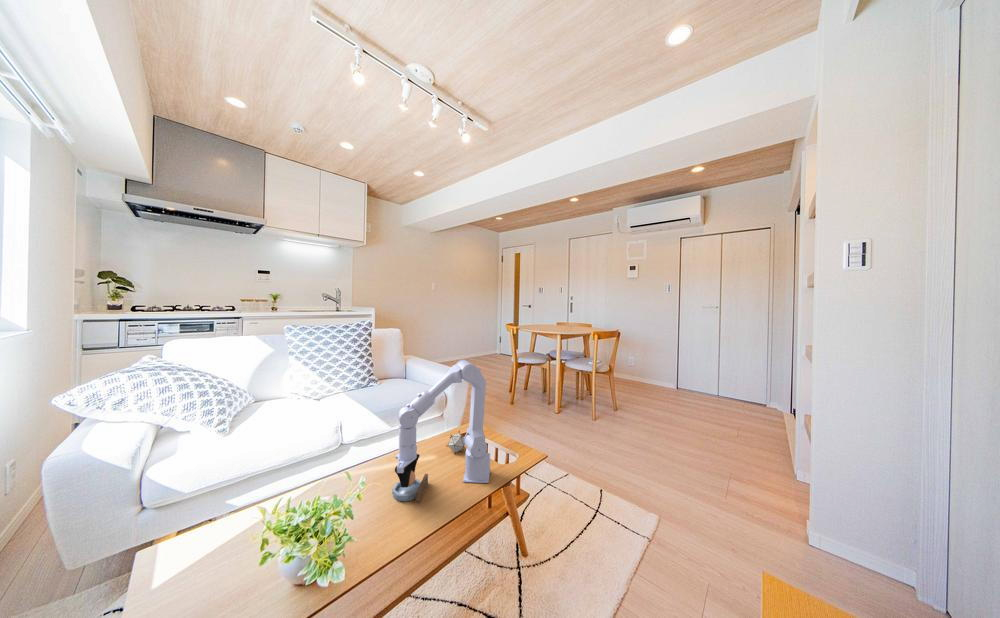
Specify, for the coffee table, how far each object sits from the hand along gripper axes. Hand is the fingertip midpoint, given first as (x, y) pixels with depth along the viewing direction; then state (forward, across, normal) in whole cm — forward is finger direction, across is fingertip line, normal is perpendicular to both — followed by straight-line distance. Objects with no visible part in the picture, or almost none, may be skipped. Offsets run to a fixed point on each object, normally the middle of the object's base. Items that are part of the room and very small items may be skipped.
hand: (407, 481), depth 105 cm
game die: (+4, -28, +12) cm, 31 cm away
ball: (+1, 0, 0) cm, 1 cm away
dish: (+4, 0, 0) cm, 4 cm away
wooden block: (+4, 0, +5) cm, 6 cm away
